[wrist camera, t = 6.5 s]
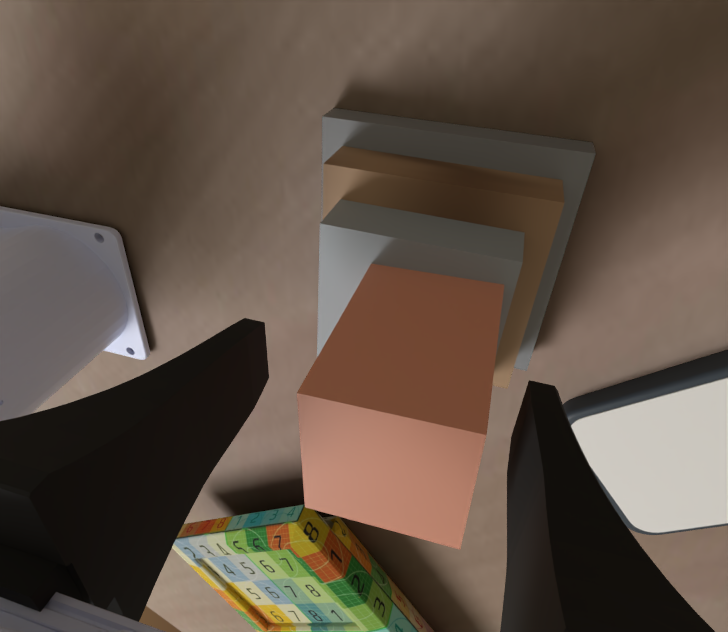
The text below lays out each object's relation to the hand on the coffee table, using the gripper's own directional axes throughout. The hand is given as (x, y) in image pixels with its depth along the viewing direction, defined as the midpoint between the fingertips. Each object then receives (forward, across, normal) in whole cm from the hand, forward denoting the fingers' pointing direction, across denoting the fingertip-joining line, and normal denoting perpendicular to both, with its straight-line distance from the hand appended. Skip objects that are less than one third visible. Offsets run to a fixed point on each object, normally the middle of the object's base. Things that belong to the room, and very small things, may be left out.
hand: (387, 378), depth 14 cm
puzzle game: (+9, +4, +28) cm, 29 cm away
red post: (+3, -1, 0) cm, 3 cm away
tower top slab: (+5, 0, 0) cm, 5 cm away
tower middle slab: (+7, 0, 0) cm, 7 cm away
